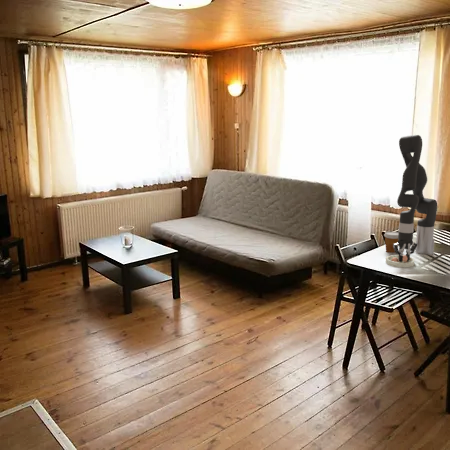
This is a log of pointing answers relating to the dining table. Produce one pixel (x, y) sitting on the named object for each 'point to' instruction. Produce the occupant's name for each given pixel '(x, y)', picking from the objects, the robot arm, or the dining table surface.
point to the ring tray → (399, 264)
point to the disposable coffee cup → (390, 241)
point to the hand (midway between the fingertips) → (403, 261)
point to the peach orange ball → (404, 258)
